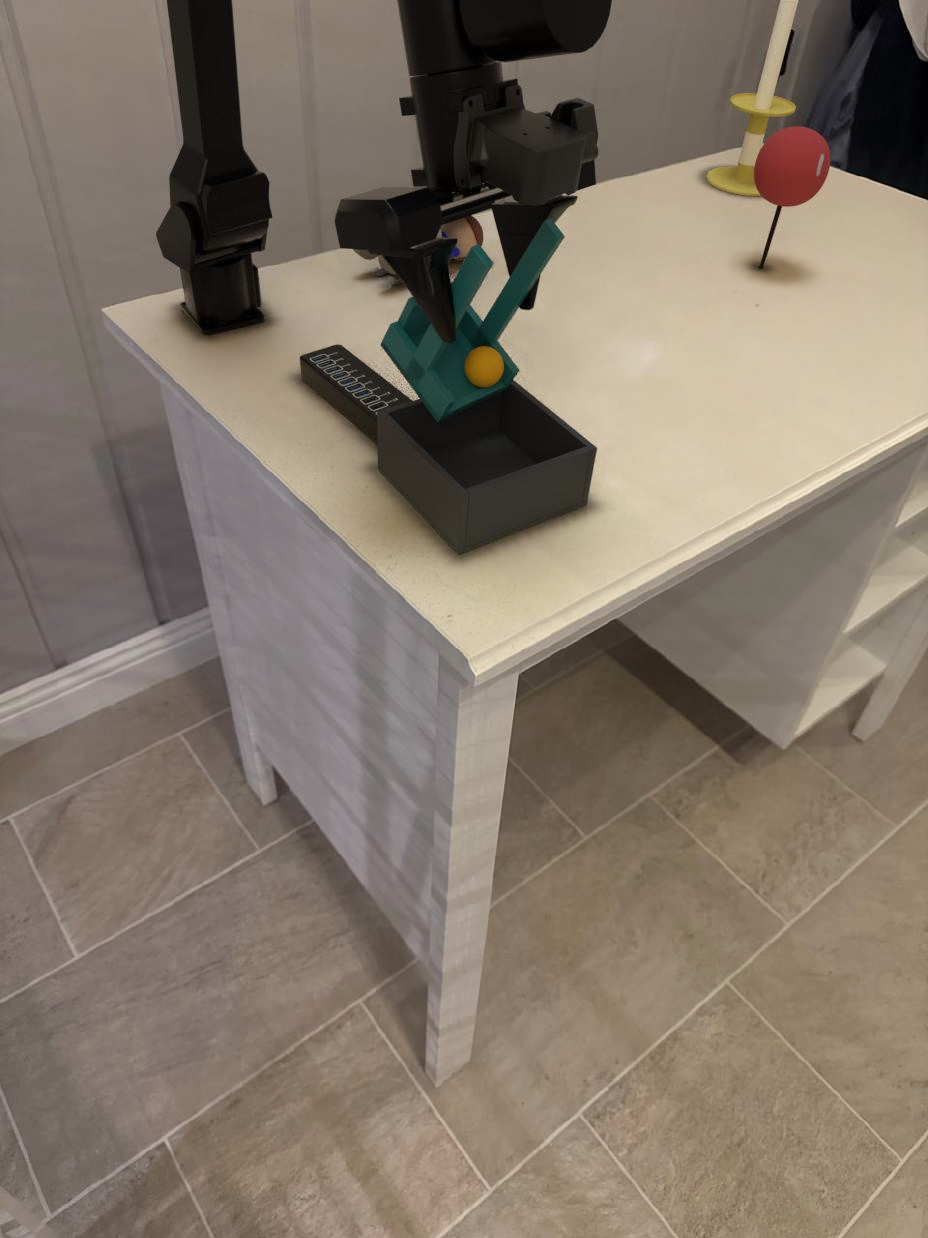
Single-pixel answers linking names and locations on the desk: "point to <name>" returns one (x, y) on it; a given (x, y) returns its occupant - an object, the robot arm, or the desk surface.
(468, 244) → the figurine character
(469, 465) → the bin
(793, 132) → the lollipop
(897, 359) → the desk surface
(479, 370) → the toy ball
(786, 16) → the candle
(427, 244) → the robot arm
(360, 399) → the multiport hub
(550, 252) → the tray with tall posts
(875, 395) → the desk surface
